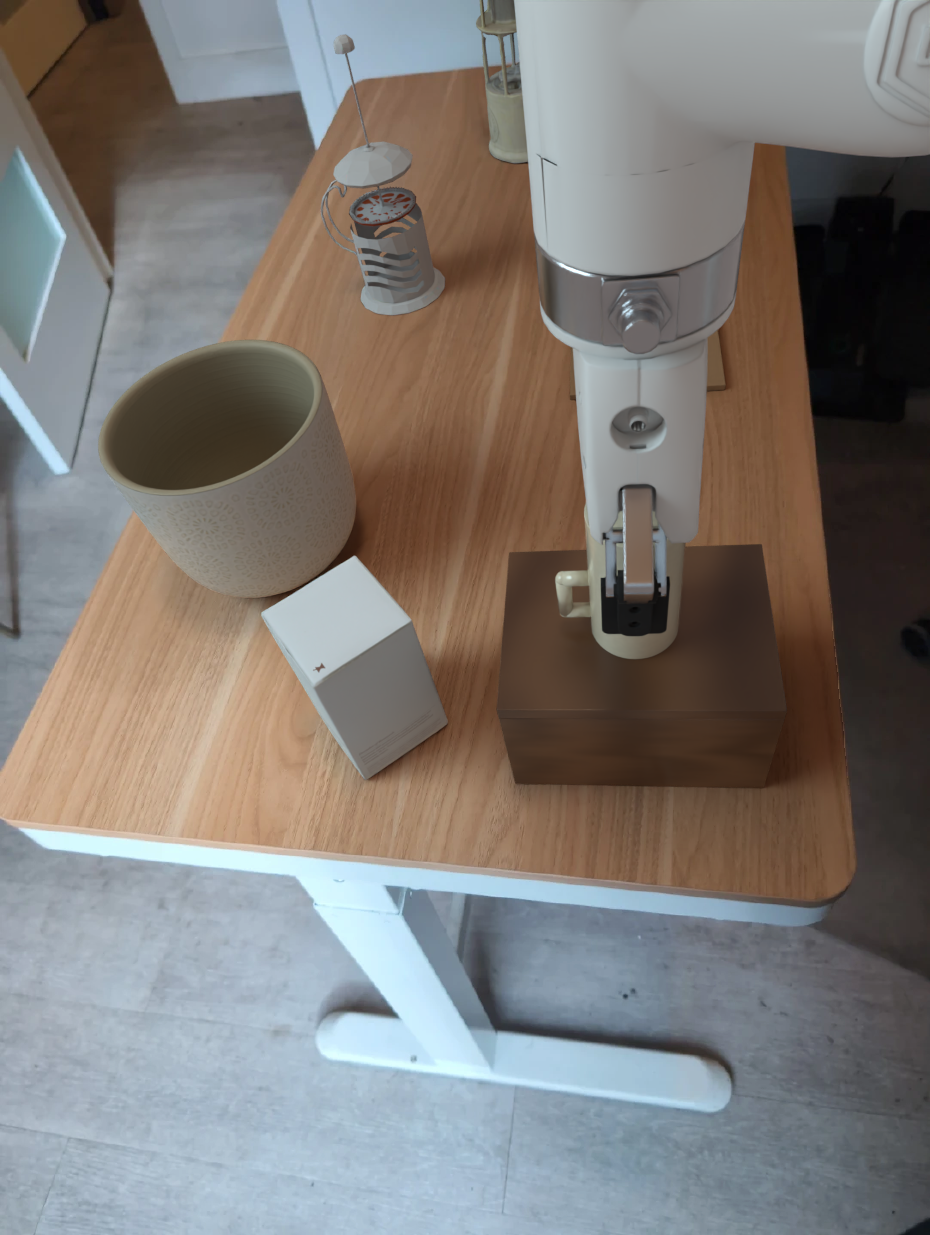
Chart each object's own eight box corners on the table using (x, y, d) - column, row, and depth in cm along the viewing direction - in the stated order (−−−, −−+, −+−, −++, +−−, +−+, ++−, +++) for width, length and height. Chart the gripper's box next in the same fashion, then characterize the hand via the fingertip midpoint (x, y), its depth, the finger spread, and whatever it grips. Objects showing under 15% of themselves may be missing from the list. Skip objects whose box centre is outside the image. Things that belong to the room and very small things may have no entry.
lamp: (477, 163, 108) (435, -138, 85) (511, 115, 115) (480, -176, 91) (553, 164, 105) (531, -148, 81) (583, 115, 111) (571, -187, 88)
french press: (434, 314, 90) (379, 54, 70) (334, 316, 93) (254, 66, 73) (453, 262, 95) (407, 7, 75) (358, 265, 98) (289, 20, 78)
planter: (332, 639, 66) (266, 506, 54) (151, 611, 71) (52, 484, 59) (399, 485, 75) (355, 342, 63) (234, 470, 80) (164, 334, 68)
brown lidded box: (744, 634, 60) (761, 543, 52) (763, 788, 53) (787, 710, 45) (523, 637, 63) (508, 551, 55) (515, 783, 56) (496, 710, 48)
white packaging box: (452, 724, 60) (416, 621, 50) (364, 784, 58) (309, 690, 48) (399, 658, 64) (356, 551, 54) (316, 712, 62) (256, 611, 52)
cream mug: (676, 588, 51) (685, 470, 43) (681, 659, 48) (691, 546, 40) (561, 591, 52) (549, 477, 45) (559, 660, 49) (546, 551, 42)
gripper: (767, 412, 26) (716, 693, 40) (719, 144, 36) (691, 443, 50) (527, 424, 27) (558, 693, 41) (545, 163, 37) (565, 449, 51)
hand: (631, 556), depth 45 cm, fingers open, 9 cm apart
